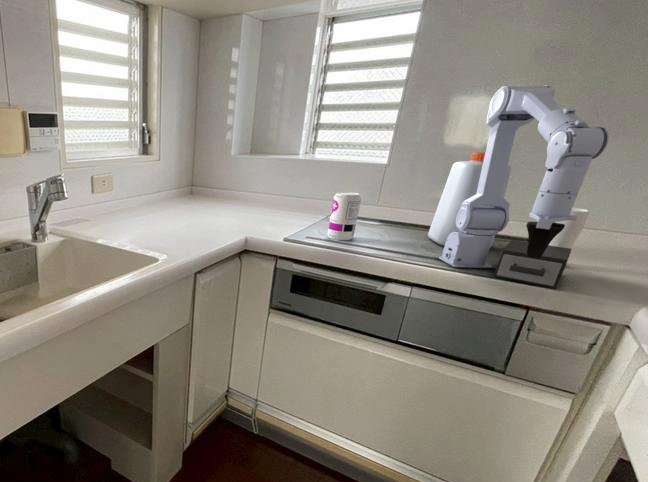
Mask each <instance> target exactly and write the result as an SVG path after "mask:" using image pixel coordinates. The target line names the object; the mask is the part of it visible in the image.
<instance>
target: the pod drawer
mask: <svg viewBox="0 0 648 482" xmlns="http://www.w3.org/2000/svg"><path fill="white" fill-rule="evenodd" d="M561 266H562V263H559V262H554V261H545V260H539V259H532V258H526V257H520V256H517V255H511V254H509V255H508V254H504V256H503V258H502V261H501V264H500V267H499V270H498V273H497V275H499V276H504V277H509V278H514V279H519V280H525V281H530V282H535V283H540V284H545V285H550V286H554V283H555V281H556V278H557V276H558V274H559V271H560V269H561Z"/></svg>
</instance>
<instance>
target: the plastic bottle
mask: <svg viewBox="0 0 648 482" xmlns="http://www.w3.org/2000/svg"><path fill="white" fill-rule="evenodd" d="M485 153H486V151H473V152H472V153H471V155H470V159H469V160H464V161H460V160H459V161H456V162H454V163H453V164H452V166H451V169H450V171H449V174H448V177H447V180H446V183H445V186H444V187H443V190H442V194H441V197H440V199H439V202H438V205H437V208H436V210H435V213H434V216H433V219H432V222H431V225H430V228H429V230H428V233H427V237H428V238H429V239H430V240H431V241H433V242H435V243H436V244H438V245H440V246H443V247H444V246H445V243H446V239H447V237H448V236H449V234H450V233H453V232H459V231H460V230H458V228H457V226H456V217H457V214H458V212H459V210H460V207H461V204H462V202H464V201H465V200H467V199H469V198H471V197H473V196H474V195H476V194H477V189H478V185H479V180H480V175H481V171H482V166H483V162H484V157H485ZM511 172H512V167H511V165H510V164H508V167H507V171H506V175H505V179H504V184H503V188H502V192H501V196H502V197H503V198H504V199H505V197H506V191H507V188H508V183H509V179H510V176H511ZM475 207H478V208H494V207H492V206H475ZM495 236H496V235H494V237H493V240H492V243H491V246H490V248H491V247H493V244H494V241H495Z"/></svg>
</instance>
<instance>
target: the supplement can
mask: <svg viewBox="0 0 648 482" xmlns="http://www.w3.org/2000/svg"><path fill="white" fill-rule="evenodd" d="M361 201H362V198H361V194H360V193H358V192H353V191H352V192H351V191H337V192H336V193H335V195H334V196H333V199H332V204H331V211H330V216H329V222H328V229H327V236H328V238H329V239H332V240H335V241H336V240H337V241H350V240H352V239H353V238H354V237H355V236H354V235H355V231H356V226H357V222H358V218H359V211H360V206H361Z"/></svg>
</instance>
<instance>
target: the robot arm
mask: <svg viewBox="0 0 648 482" xmlns="http://www.w3.org/2000/svg"><path fill="white" fill-rule="evenodd" d="M555 95H556V89H555V88H553V86H552V85H550V84H544V85H519V86H518V85H517V86H515V85H514V86H513V85H512V86H510V85H503V86H501V87H499V89H498V90H497V91H496V92H495V93H494V95H493V96H492V98H491V100H490V102H489V107H488V111H487V116H486V122H485V123H486V125H487V126H488V127H490V132H489V135H488V139H487V144H486V149H485V152H486V153H485V157H484V162H483V166H482V171H481V175H480V180H479V185H478V189H477V194H476V195H474V196H473V197H471V198H469V199H467V200H465V201H464V202H462V204H461V207H460V210H459V212H458V214H457V217H456V226H457V228H458V230H460V231H459V232H453V233H450V234H449V236H448V237H447V239H446V243H445V246H443V250H442V254H441V256H439V260H441V261H443V262H444V263H446V264H448V265H450V266H451V267H454V268H469V269H470V268H471V269H472V268H473V269H493V266H492V265H490V264H488V263H486V261H487V258H488V256H489V252H490V249H491V247H492V246H491V243H492V240H493V237H494V235H495V236H498V234H499V233H500V232H502V231H503V230H505V229H506V227H507V226H508V224H509V222H510V206H511V205H510V202H509V201H507V199H506V198H505V197H504V198H503V197H502V196H501V192H502V188H503V184H504V179H505V175H506V171H507V167H508V165H509V162H510V158H511V153H512V149H513V146H514V141H515V136H516V133H517V130H519V129H520V128H521V127H523V126H527V125H529V124H530V123H532V122H533V121H535V120H536V121H537V122H538V125H537V131H538V133H539V134H540V136H541V137H543V139H544V140H545V142H547V147H546V161H545V163H544V166H545V168H546V171H545V174H544V176H543V179H542V182H541V184H540V187H539V190H538V193H537V196H536V198H535V201H534V204H533V207H532V209H531V211H530V212H529V215H528V216H529V217H530V218H532V219H533V220H535V221H528V222H526V229H527V236H528V238H527V239H528V240H527V242H528V247H527V256H528V257H534V258H540V257H541V256H542V255H543V253H544V252H545V250H546V248H547V247H548V245H549V244H550V242H551V241H552V240H553V238H554V237H555V236H556V235H557V234H558V233H560V232H561V231H562V230H563V229H564V227H565V224H560V223H555V222H561V221H567V220H573V221H575V220H576V218H577V216H572V215H570V212H571V210H572V208H574V204H575V202H576V199H577V197H578V194H579V193H580V190H581V188H582V185H583V182H584V180H585V177H586V175H587V173H588V170H589V168H590V165H591V162H592V160H594V159H596V158H598V157H599V156H600V155H602V154H603V152H604V151H605V149H606V148H607V146H608V144H609V138H610V137H609V132H608V130H607V128H606V127H604V126H596V127H594V126H590V125H589V124H588V123H587V121H585V119H583V118H581V116H579V115H578V114H577V113H576V112H577V110H576V109H575V108H574V107H562V108H561V107H560V106H559V104H558V103H557V102H556V100H555V99H554V98H555ZM475 206H492V207H494V208H478V207H475ZM494 238H495V237H494ZM490 246H491V247H490Z"/></svg>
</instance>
